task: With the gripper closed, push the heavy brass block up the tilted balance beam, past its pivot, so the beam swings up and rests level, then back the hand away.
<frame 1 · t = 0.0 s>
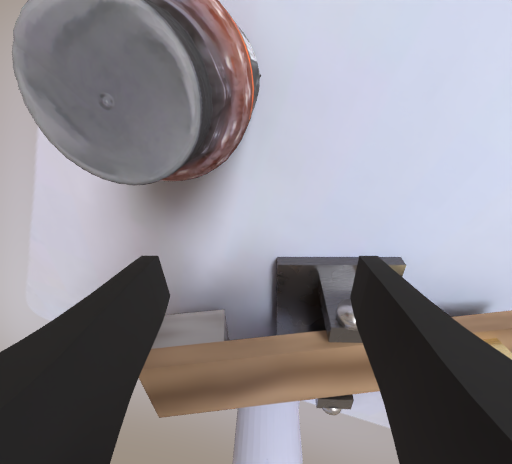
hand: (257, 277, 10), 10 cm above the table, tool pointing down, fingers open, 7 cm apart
balance beam: (333, 347, 22), point 4 cm above the table, hinge at 8.2°, touching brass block
supplement bottle: (210, 78, 15), on the table
pivot stand: (328, 314, 25), on the table
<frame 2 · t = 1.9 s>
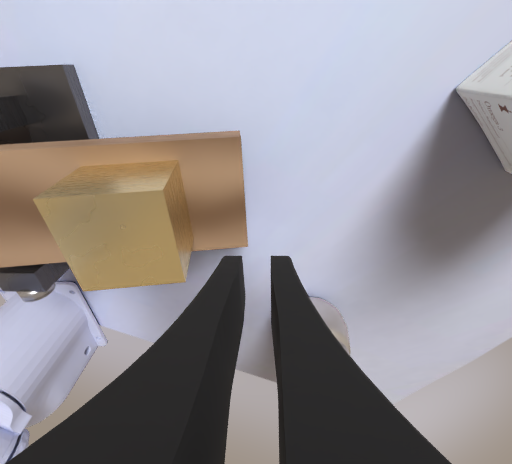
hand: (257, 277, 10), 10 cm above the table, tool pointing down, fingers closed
balance beam: (4, 200, 16), point 4 cm above the table, hinge at 8.2°, touching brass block
plastic bottle: (307, 310, 26), on the table
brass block: (142, 205, 15), point 4 cm above the table, tilted 8°, touching balance beam
pivot stand: (47, 179, 19), on the table
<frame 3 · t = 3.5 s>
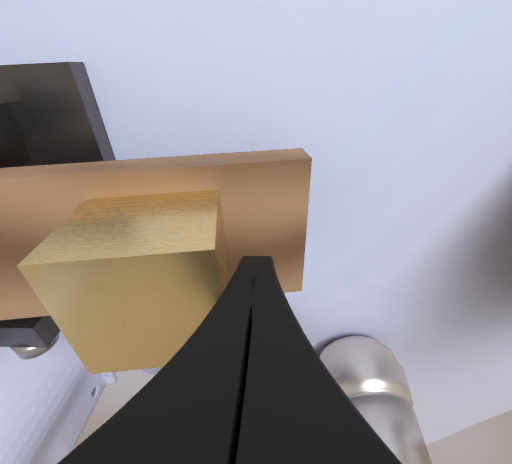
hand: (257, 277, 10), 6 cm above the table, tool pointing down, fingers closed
plastic bottle: (350, 347, 22), on the table
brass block: (167, 246, 11), point 4 cm above the table, tilted 8°, touching balance beam, gripper
pivot stand: (49, 203, 16), on the table
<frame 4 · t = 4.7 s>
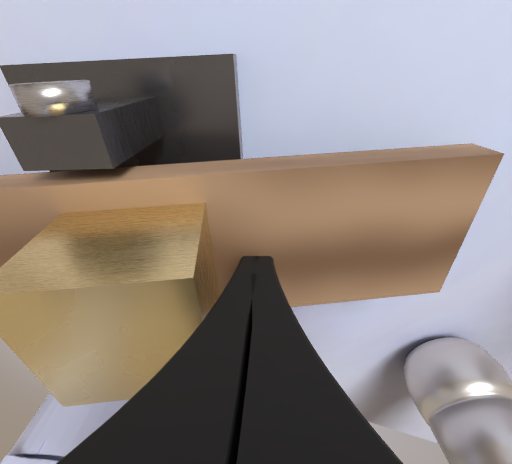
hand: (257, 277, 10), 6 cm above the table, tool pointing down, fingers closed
balance beam: (130, 235, 12), point 4 cm above the table, hinge at 8.0°
plastic bottle: (434, 348, 22), on the table
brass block: (152, 262, 11), point 6 cm above the table, tilted 8°, touching gripper
pivot stand: (161, 202, 15), on the table
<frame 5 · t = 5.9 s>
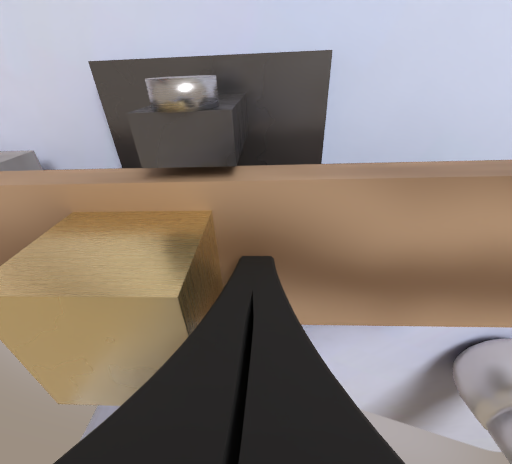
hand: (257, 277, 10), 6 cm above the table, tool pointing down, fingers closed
balance beam: (216, 234, 12), point 4 cm above the table, hinge at 0.1°, touching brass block
plastic bottle: (482, 350, 22), on the table
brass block: (158, 266, 10), point 6 cm above the table, touching balance beam, gripper
pivot stand: (227, 201, 15), on the table
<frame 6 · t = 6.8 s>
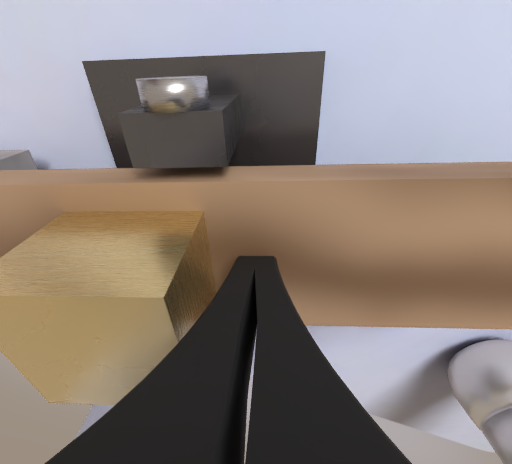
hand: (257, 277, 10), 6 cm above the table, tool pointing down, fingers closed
balance beam: (210, 234, 12), point 4 cm above the table, hinge at -0.1°, touching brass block
plastic bottle: (478, 350, 22), on the table
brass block: (151, 266, 11), point 6 cm above the table, touching balance beam
pivot stand: (222, 201, 15), on the table
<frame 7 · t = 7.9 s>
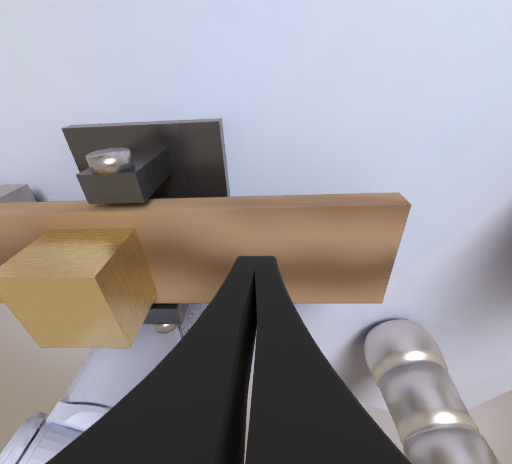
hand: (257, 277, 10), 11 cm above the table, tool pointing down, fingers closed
balance beam: (152, 241, 18), point 4 cm above the table, hinge at -0.1°, touching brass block
plastic bottle: (389, 330, 27), on the table
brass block: (107, 263, 16), point 6 cm above the table, touching balance beam
pivot stand: (169, 216, 21), on the table
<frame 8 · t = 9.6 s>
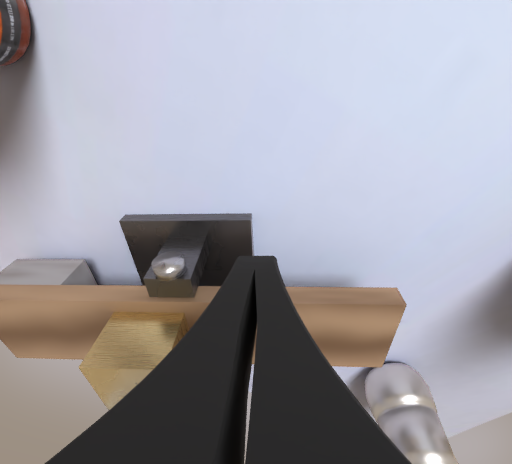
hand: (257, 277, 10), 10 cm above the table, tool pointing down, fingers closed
balance beam: (191, 310, 21), point 4 cm above the table, hinge at -0.1°, touching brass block
plastic bottle: (387, 369, 31), on the table
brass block: (157, 335, 19), point 6 cm above the table, touching balance beam
pivot stand: (201, 280, 24), on the table
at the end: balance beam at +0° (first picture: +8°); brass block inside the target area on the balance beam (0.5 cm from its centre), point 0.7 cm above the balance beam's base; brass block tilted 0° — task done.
